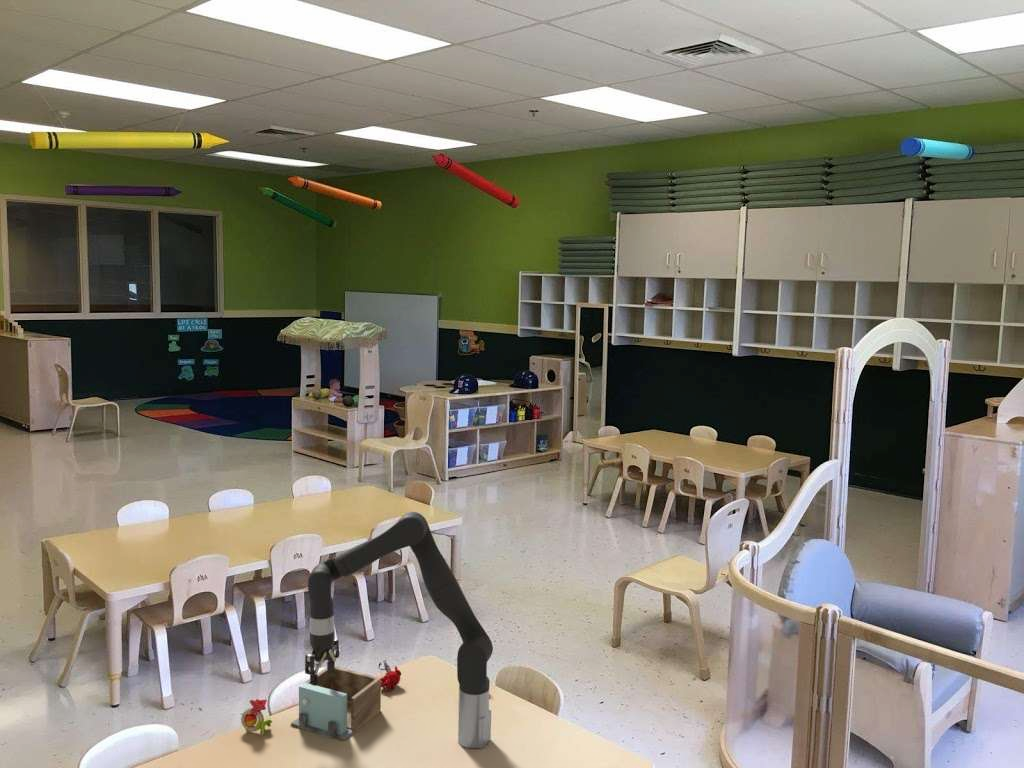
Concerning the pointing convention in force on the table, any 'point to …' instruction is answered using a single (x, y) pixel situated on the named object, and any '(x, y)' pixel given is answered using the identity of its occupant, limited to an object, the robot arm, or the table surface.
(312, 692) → the door
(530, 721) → the table surface
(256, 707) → the bird rattle
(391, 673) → the figurine
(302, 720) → the cabinet
